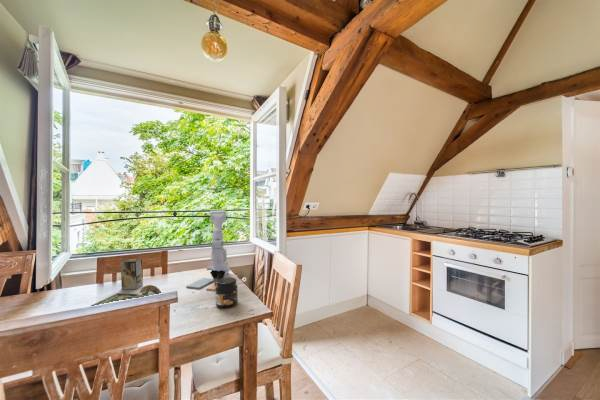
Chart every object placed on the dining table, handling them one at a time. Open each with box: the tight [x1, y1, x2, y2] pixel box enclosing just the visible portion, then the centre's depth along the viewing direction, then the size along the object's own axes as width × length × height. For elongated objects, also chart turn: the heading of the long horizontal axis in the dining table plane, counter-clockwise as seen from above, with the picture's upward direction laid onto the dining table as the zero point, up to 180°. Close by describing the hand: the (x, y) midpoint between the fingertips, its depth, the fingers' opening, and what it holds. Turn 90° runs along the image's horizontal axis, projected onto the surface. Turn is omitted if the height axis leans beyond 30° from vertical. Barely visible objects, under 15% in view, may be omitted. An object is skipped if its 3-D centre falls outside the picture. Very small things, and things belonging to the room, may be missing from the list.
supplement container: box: [215, 276, 239, 309], centre depth 123 cm, size 10×10×12 cm
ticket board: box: [186, 277, 214, 290], centre depth 152 cm, size 15×9×1 cm, turn 163°
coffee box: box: [120, 258, 144, 290], centre depth 148 cm, size 9×6×16 cm
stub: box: [205, 277, 219, 292], centre depth 148 cm, size 15×5×5 cm, turn 163°
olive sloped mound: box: [90, 284, 162, 306], centre depth 127 cm, size 33×8×20 cm
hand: (218, 282), depth 148 cm, fingers closed on stub, 2 cm apart
